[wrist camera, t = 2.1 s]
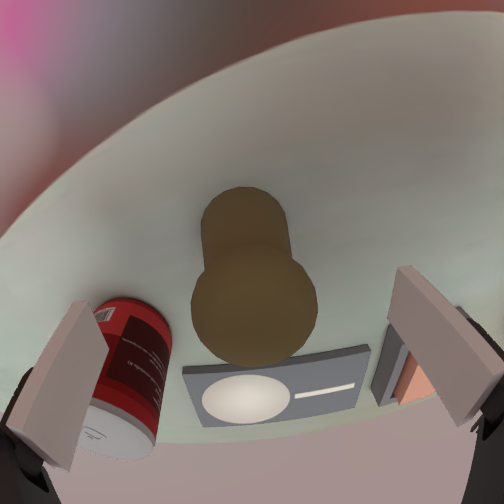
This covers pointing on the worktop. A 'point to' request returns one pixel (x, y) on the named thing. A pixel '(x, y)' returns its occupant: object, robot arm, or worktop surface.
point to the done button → (412, 382)
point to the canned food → (128, 382)
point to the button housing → (392, 365)
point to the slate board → (277, 388)
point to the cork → (251, 282)
